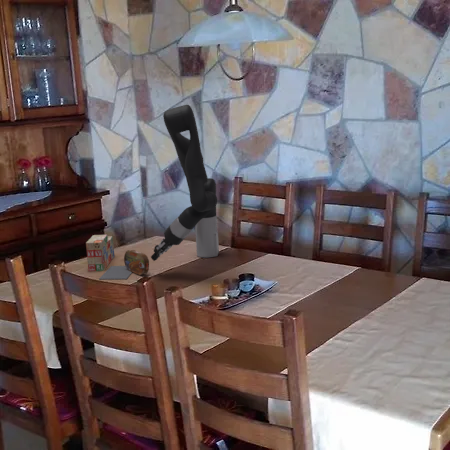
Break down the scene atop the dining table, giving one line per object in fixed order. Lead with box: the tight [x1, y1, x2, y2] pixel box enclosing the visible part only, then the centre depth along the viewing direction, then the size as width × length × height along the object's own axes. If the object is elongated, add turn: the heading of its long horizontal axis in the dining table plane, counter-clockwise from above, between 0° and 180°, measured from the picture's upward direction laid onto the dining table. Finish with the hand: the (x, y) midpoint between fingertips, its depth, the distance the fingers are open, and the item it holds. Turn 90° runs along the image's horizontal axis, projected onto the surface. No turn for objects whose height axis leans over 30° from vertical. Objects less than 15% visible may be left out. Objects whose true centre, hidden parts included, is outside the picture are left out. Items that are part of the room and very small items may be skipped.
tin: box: [123, 249, 150, 276], centre depth 250 cm, size 15×3×8 cm, turn 40°
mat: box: [98, 265, 133, 281], centre depth 252 cm, size 11×17×1 cm, turn 174°
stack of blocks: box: [85, 234, 115, 272], centre depth 265 cm, size 21×6×12 cm, turn 177°
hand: (153, 258), depth 247 cm, fingers closed
